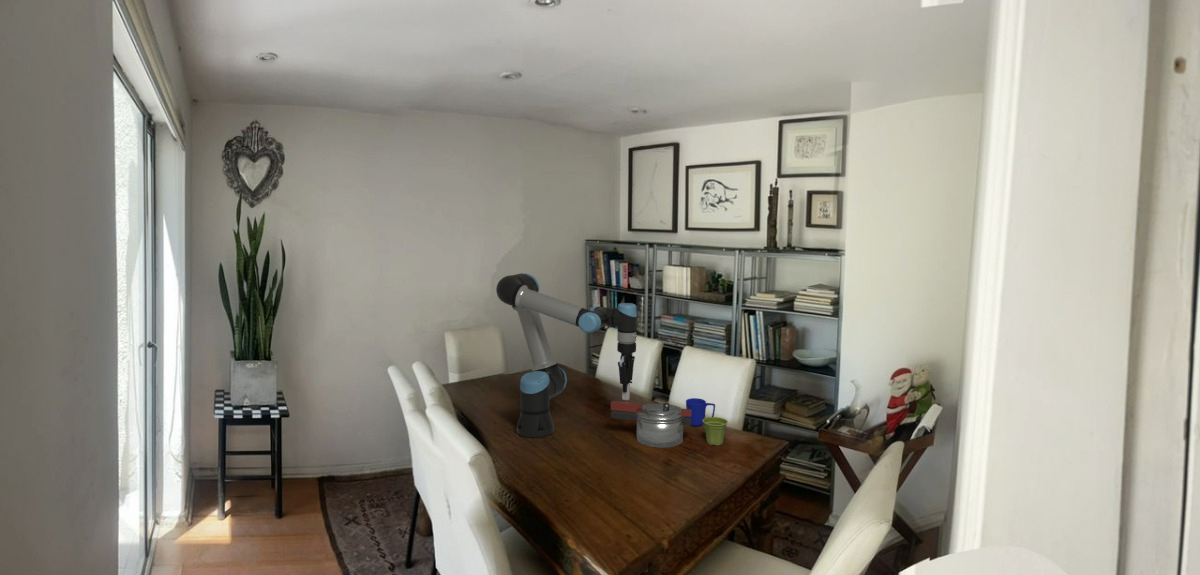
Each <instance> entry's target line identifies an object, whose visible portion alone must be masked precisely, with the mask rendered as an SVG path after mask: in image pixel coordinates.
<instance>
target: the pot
mask: <svg viewBox="0 0 1200 575" xmlns="http://www.w3.org/2000/svg"><path fill="white" fill-rule="evenodd" d="M610 418H611V419H617V420H629V421H636V440H637V442H638V443H639V444H641V445H643V446H646V447H651V448H659V449H660V448H661V449H665V448H672V447H673V448H674V447H677V446H679V445H681V444H682V443H683V441H684V426H687V427H688V426H689V427H690V426H692V425H691V422H692V418H687V417H685V416H683V417H682V418H680V419H677V420H673V421H651V420H646V419H643V418H640V417H639V416H637V415H636V412H628V411H616V410H611V412H610Z"/></svg>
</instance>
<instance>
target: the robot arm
mask: <svg viewBox="0 0 1200 575" xmlns="http://www.w3.org/2000/svg"><path fill="white" fill-rule="evenodd" d="M495 289H496V290H495V292H496V295H497V298H498V299H499V300H500V301H501V302H503V304H506V305H509V306H511V307H512V310H514V311H516V312H517V314H518V318H519V321H520V325H521V328H522V331H523V334H524V337H525V340H526V344H527V348H528V350H529V351H528V352H529V354H530V357H531V361H532V363H533V366H532V368H531V372H526V373H525V374H523V375H522V376H521V378H520V380H519V381H520V383H519V389H520V390H519V391H520V398H519V399H520V415H519V418H518V421H517V424H516V434H518V435H519V436H521V437H524V438H530V439H531V438H542V437H547V436H550V435H551V434H553V433H554V432H555V423H554V421H553V418H552V415H551V413H550V411H551V410H550V406H551V405H550V400H551V399H553V398H555V397H556V396H558V395H559V394H561V393H562V392H563V391H564V390H565V388H566V386H567V382H568V378H567V374H566V372H565V370H564V369H563V368H561V367H560V365H559V363H558V361H557V360H555V358H553V355H552V351H551V349H550V345H549V341H548V338H547V336H546V332H545V328H544V325H543V322H542V319H541V315H540V314H542V315H544V316H548V317H551V318H553V319H556V320H559V321H561V322H564V323H567V324H569V325H573V326H576V327H577V328H579V329H580V330H581V332H583V333H587V334H588V333H594V332H597V331H598V330H600V329H603V328H605V327H613V328H614V327H617V335H616V336H617V337H616V338H617V339H616V341H617V350H616V351H617V353H620V354H621V355H620V361H618V362H617V365H618V374H619V384H621V385H622V386H621V387H622V388H621V390H622V391H621V392H622V394H621V399H622V401H623V400H624V401H629V400H630V397H631V384H633V375H634V366H635V365H634V363H635V359H636V357H635V355H634V353H636V351H637V343H636V341H637V338H638V335H637V322H638V320H637V319H638V315H637V313H638V312H637V305H636V304H634V303H632V302H627V303H626V302H621V303H618V304H617V307H608V306H607V307H605V306H591V307H590V308H589V309H587V308H584V307H582V306H579V305H577V304H576V305H575V304H573V303H571V302H567V301H565V300H562V299H558V298H555V297H554V296H550V295H547V294H544V293H541V292H540V284H539V281H538V280H537V279H536V277H534V276H533V275H532V274H529V273H522V272H521V273H517V274H511V275H505V276H504V277H502V278H501V279H499V281H498V283H497V285H496V288H495ZM633 355H634V356H633Z"/></svg>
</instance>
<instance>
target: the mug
mask: <svg viewBox="0 0 1200 575" xmlns="http://www.w3.org/2000/svg"><path fill="white" fill-rule="evenodd" d="M708 406H712V407H713V409H712V414H711V417H715V410H716V404H715V403H711V402H707V401H706V400H705V399H702V398H698V397H697V398H696V397H694V398H693V397H691V398H688V399H686V400H685V409H692V415H691V417H689V416H686V418H692V422H691V426H692V425H693V427H701V426H702V425H703V426H704V423H703V419H704V418H706V411H707V407H708Z"/></svg>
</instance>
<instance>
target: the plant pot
mask: <svg viewBox="0 0 1200 575" xmlns="http://www.w3.org/2000/svg"><path fill="white" fill-rule="evenodd" d="M728 423H729V422H728V420H727V419H725V418H723V417H718V416H714V417H712V416H708V417H705V418H704V419H703V426H704V430H705V440H706V443H707V444H708V445H710V446H713V445H715V446H720V445H723V444H724V441H725V440H724V439H725V432H726V428H727V425H728Z"/></svg>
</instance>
